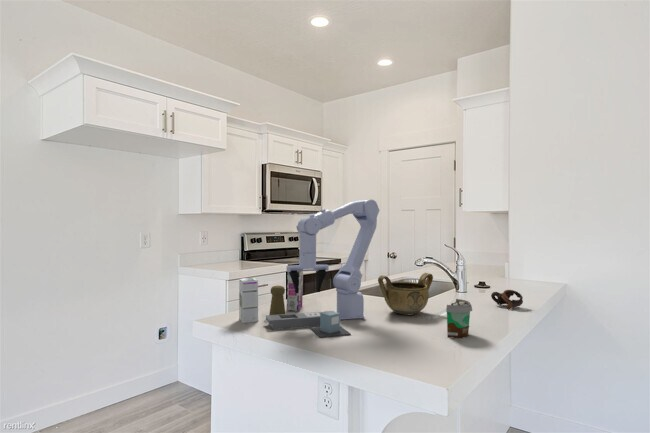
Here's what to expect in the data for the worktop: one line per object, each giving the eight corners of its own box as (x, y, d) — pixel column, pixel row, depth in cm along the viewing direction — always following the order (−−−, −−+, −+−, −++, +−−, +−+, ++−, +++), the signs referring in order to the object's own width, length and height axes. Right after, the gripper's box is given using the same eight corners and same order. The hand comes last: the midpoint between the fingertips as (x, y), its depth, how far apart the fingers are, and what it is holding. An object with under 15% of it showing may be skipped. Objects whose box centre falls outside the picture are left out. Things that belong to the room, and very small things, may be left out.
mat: (339, 326, 129) (339, 325, 129) (350, 335, 120) (350, 333, 120) (310, 328, 126) (310, 327, 126) (319, 337, 117) (319, 336, 117)
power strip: (333, 319, 139) (333, 308, 139) (339, 324, 132) (340, 313, 132) (265, 324, 131) (265, 313, 131) (269, 329, 125) (269, 317, 125)
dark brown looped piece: (519, 306, 165) (525, 291, 161) (518, 321, 158) (524, 305, 154) (489, 297, 170) (494, 282, 166) (487, 310, 162) (492, 295, 158)
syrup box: (258, 321, 134) (259, 279, 135) (241, 323, 132) (241, 280, 132) (255, 318, 140) (255, 277, 140) (238, 319, 137) (238, 278, 138)
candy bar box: (299, 312, 150) (299, 269, 150) (286, 311, 150) (286, 269, 150) (303, 305, 161) (303, 266, 161) (291, 305, 161) (291, 265, 161)
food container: (467, 342, 114) (467, 307, 114) (446, 338, 117) (446, 305, 117) (475, 332, 124) (476, 300, 125) (456, 329, 128) (456, 298, 128)
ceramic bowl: (419, 306, 161) (419, 270, 161) (444, 316, 145) (444, 275, 145) (370, 310, 154) (370, 272, 154) (390, 320, 138) (390, 278, 138)
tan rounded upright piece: (282, 318, 139) (283, 287, 140) (266, 317, 141) (267, 286, 141) (287, 314, 145) (288, 285, 146) (272, 313, 147) (272, 284, 147)
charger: (330, 327, 126) (330, 310, 126) (340, 330, 123) (340, 313, 123) (320, 330, 123) (320, 312, 123) (329, 333, 120) (330, 315, 120)
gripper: (324, 251, 140) (324, 289, 140) (284, 252, 136) (284, 291, 136) (330, 253, 134) (330, 292, 134) (289, 253, 129) (288, 294, 129)
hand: (307, 292), depth 134 cm, fingers open, 7 cm apart
